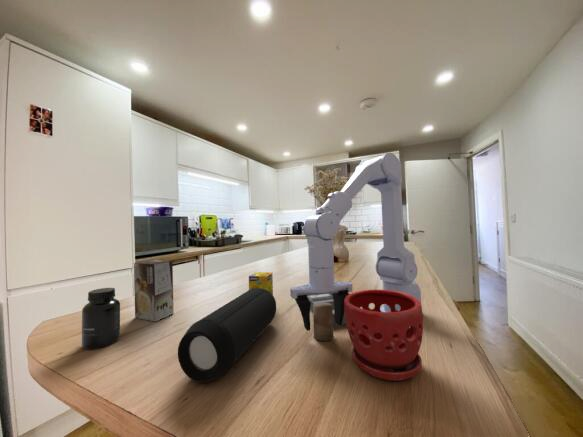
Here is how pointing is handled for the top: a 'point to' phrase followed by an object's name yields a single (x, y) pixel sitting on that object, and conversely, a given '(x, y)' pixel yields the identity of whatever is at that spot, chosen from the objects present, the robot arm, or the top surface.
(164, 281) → the coffee box
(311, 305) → the socket plate
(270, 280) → the supplement box
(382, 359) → the plant pot
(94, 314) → the supplement bottle
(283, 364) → the top surface
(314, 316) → the walnut peg
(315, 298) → the sliding lid
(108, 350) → the top surface
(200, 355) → the portable speaker
